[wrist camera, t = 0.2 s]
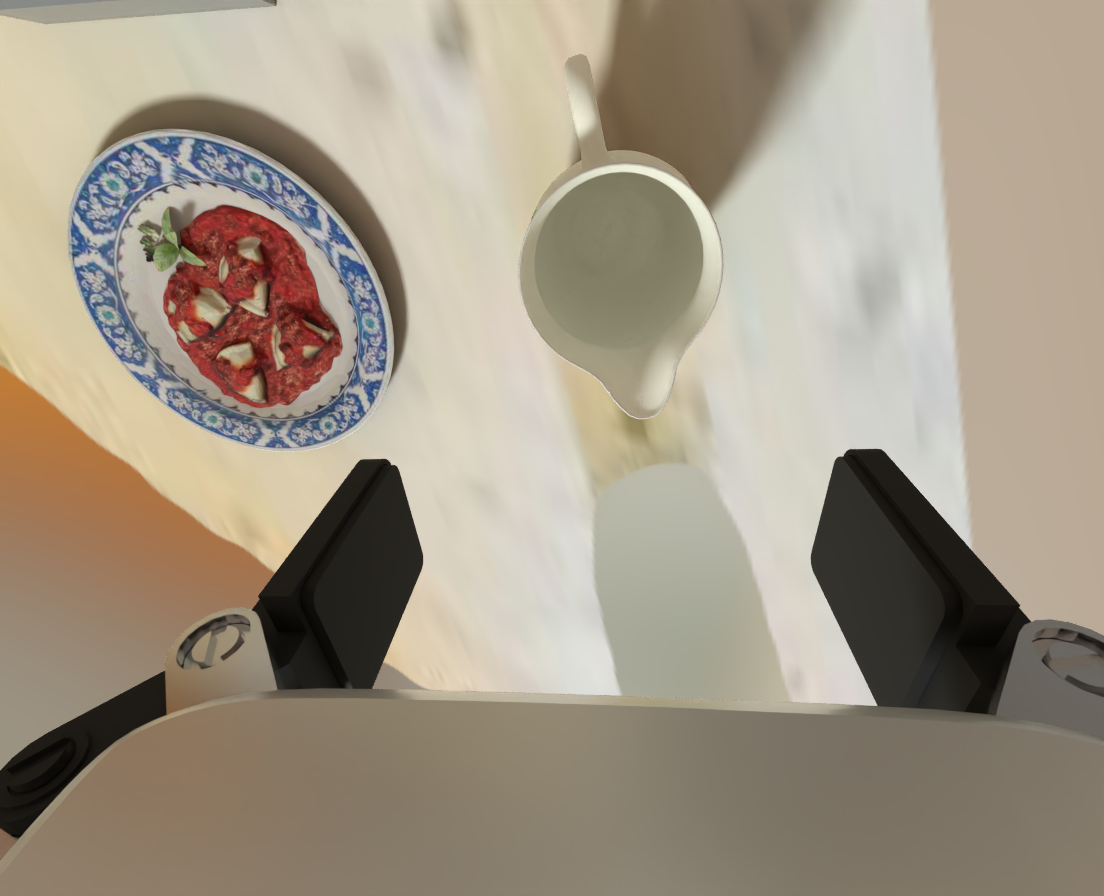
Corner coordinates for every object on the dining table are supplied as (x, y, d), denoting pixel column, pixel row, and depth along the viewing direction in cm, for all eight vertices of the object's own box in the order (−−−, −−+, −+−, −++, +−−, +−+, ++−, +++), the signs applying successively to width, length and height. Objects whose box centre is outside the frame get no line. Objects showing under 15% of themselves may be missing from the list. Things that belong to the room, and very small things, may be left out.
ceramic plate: (456, 389, 45) (447, 405, 42) (240, 471, 52) (222, 488, 50) (268, 56, 33) (241, 49, 31) (22, 219, 40) (-17, 225, 38)
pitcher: (667, 40, 31) (707, -17, 19) (704, 321, 40) (746, 399, 28) (499, 100, 33) (443, 83, 22) (569, 353, 42) (556, 437, 30)
